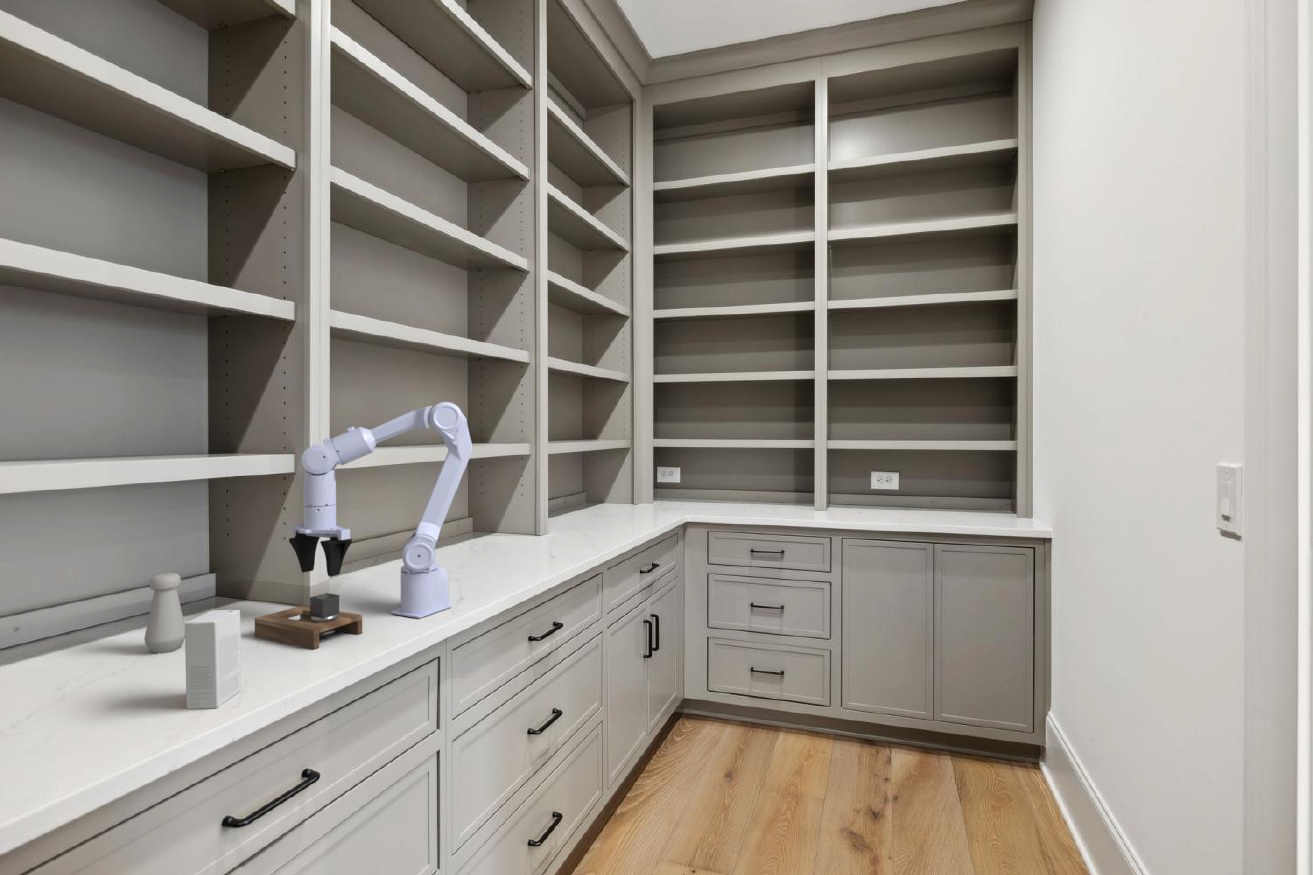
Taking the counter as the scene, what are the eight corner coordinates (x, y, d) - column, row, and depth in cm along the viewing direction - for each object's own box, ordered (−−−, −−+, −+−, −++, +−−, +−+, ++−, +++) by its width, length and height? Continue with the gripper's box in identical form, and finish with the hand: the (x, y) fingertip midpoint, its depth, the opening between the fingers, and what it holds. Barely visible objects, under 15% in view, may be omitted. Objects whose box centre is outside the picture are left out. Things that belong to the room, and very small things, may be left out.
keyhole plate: (304, 621, 127) (304, 604, 127) (362, 633, 121) (362, 614, 121) (254, 636, 118) (254, 618, 118) (313, 649, 112) (313, 630, 112)
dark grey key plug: (327, 627, 121) (327, 592, 121) (343, 630, 119) (343, 594, 119) (305, 633, 117) (305, 597, 117) (322, 637, 115) (322, 600, 115)
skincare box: (211, 691, 94) (211, 609, 94) (242, 690, 94) (241, 609, 94) (184, 709, 88) (183, 622, 88) (216, 709, 88) (216, 621, 88)
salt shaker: (163, 656, 108) (162, 579, 108) (135, 654, 109) (134, 577, 109) (194, 645, 114) (194, 571, 114) (167, 642, 115) (167, 570, 115)
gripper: (276, 505, 128) (277, 573, 128) (327, 509, 121) (327, 581, 122) (309, 501, 134) (309, 566, 134) (359, 505, 128) (359, 573, 128)
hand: (320, 573), depth 128 cm, fingers open, 7 cm apart
